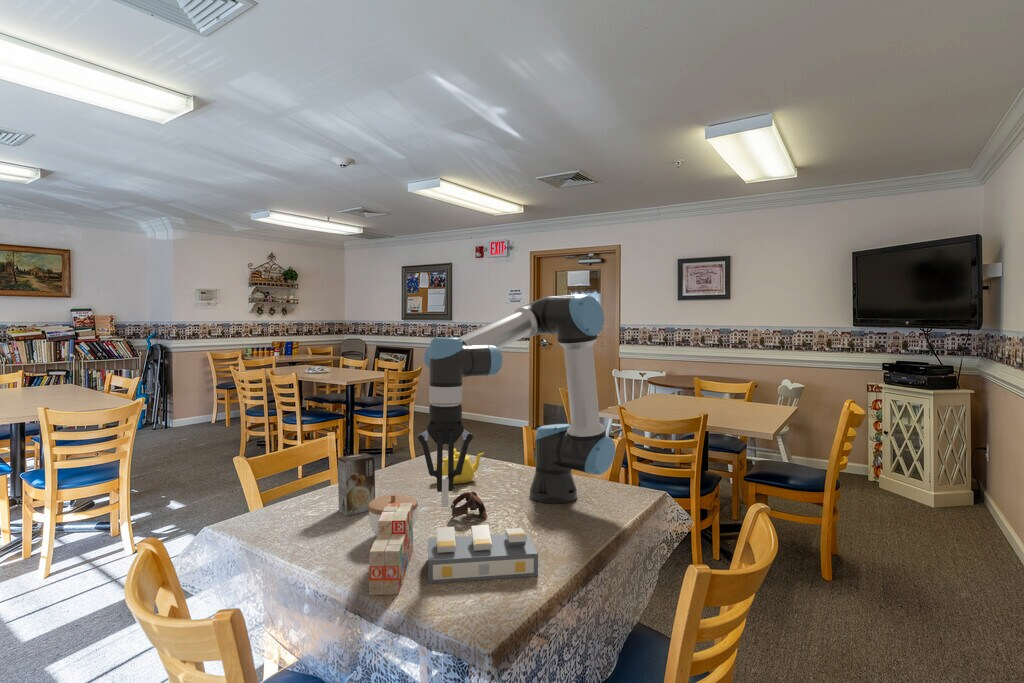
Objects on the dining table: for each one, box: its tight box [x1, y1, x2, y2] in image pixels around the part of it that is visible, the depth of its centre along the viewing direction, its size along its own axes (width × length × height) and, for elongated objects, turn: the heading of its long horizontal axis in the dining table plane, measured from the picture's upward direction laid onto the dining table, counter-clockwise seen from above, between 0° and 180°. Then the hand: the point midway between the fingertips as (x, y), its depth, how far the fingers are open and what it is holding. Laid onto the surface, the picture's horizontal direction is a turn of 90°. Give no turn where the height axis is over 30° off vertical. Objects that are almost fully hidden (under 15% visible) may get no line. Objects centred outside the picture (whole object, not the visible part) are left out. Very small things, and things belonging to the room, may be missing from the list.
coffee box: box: [337, 452, 376, 517], centre depth 160 cm, size 9×6×16 cm
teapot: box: [434, 447, 485, 485], centre depth 191 cm, size 14×13×10 cm
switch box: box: [427, 532, 539, 584], centre depth 123 cm, size 24×12×6 cm, turn 99°
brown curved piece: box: [450, 491, 488, 521], centre depth 155 cm, size 12×10×8 cm
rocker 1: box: [436, 526, 456, 553], centre depth 121 cm, size 4×7×2 cm, turn 9°
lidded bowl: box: [368, 493, 419, 537], centre depth 140 cm, size 13×13×11 cm
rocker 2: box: [470, 524, 492, 551], centre depth 122 cm, size 4×7×2 cm, turn 9°
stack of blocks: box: [368, 503, 414, 596], centre depth 120 cm, size 21×6×12 cm, turn 3°
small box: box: [504, 527, 527, 542], centre depth 124 cm, size 4×7×2 cm, turn 9°
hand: (444, 504), depth 125 cm, fingers closed
